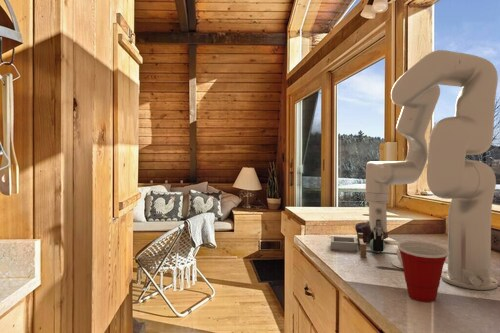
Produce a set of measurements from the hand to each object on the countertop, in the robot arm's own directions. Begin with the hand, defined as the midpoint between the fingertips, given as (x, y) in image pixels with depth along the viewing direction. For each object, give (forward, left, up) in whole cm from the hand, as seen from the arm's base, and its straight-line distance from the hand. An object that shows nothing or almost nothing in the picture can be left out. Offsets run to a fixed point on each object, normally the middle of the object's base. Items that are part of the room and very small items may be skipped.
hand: (376, 247), depth 122 cm
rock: (+16, 0, -2) cm, 16 cm away
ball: (0, 0, -2) cm, 2 cm away
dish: (+4, +11, -2) cm, 12 cm away
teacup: (-14, -8, -2) cm, 16 cm away
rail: (+1, +5, -2) cm, 5 cm away
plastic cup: (-39, -6, -2) cm, 40 cm away
